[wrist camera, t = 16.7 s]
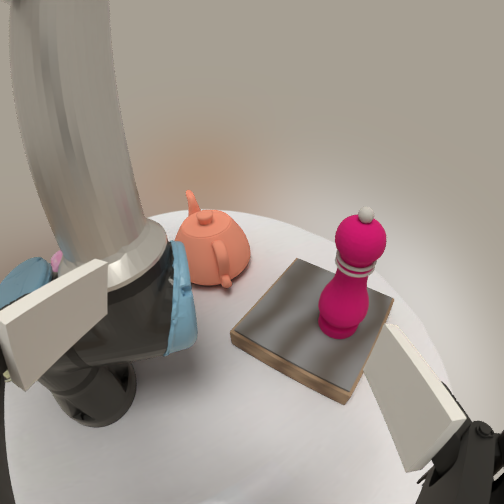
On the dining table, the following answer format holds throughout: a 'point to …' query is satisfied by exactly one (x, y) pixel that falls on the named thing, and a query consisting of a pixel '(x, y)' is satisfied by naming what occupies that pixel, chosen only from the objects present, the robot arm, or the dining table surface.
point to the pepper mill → (351, 274)
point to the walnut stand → (309, 333)
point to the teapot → (212, 245)
